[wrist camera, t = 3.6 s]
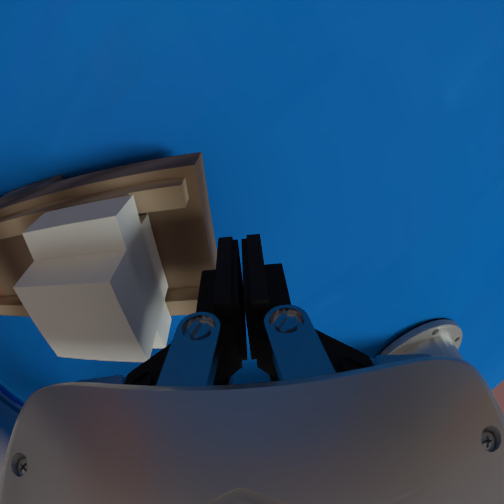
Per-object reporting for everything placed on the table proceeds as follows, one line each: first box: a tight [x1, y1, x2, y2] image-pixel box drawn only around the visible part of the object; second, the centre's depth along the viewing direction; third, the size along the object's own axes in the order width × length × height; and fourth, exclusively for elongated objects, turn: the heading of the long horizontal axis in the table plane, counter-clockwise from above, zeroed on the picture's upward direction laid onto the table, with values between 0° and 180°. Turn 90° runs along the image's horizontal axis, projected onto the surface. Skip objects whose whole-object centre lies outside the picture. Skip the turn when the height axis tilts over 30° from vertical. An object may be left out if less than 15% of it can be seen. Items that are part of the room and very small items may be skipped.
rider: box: [13, 195, 172, 362], centre depth 12 cm, size 5×7×5 cm
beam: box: [0, 152, 217, 316], centre depth 14 cm, size 26×8×8 cm, turn 95°
